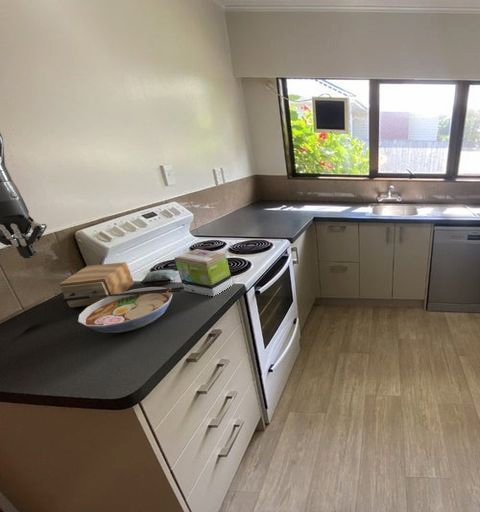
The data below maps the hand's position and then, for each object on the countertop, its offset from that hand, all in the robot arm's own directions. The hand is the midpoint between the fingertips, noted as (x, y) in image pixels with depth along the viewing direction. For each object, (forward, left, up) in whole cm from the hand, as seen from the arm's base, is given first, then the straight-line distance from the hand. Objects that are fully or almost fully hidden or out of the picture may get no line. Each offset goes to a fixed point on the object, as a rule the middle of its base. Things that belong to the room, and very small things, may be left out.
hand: (30, 257), depth 84 cm
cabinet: (+3, +18, -23) cm, 29 cm away
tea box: (+40, +11, -23) cm, 48 cm away
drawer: (+3, +14, -22) cm, 26 cm away
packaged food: (+20, +24, -23) cm, 39 cm away
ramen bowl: (+23, -8, -23) cm, 34 cm away
